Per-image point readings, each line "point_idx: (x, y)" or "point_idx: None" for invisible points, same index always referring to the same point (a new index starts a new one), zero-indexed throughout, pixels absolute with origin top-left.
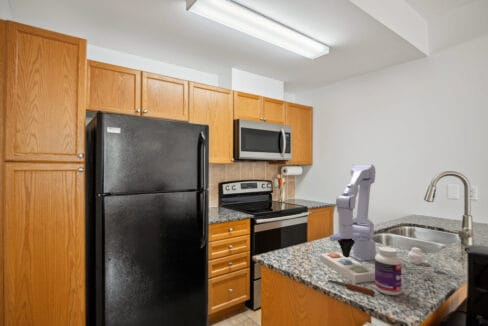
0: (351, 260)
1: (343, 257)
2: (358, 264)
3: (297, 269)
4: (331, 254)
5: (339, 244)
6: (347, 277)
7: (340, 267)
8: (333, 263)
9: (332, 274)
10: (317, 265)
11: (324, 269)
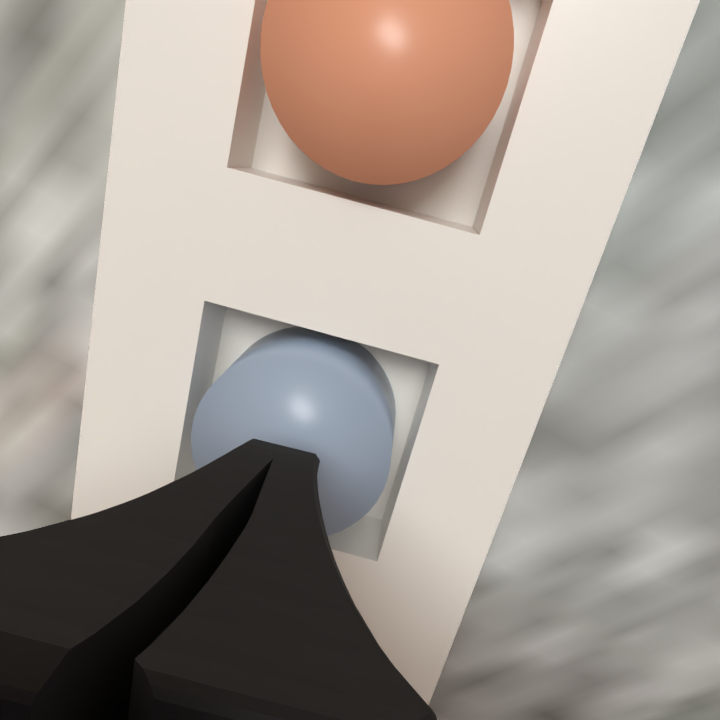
0: (477, 429)
1: (488, 237)
2: (411, 592)
3: None
4: (321, 7)
5: (25, 540)
6: None
7: (81, 494)
8: (101, 319)
9: (12, 412)
10: (3, 37)
11: (12, 233)
